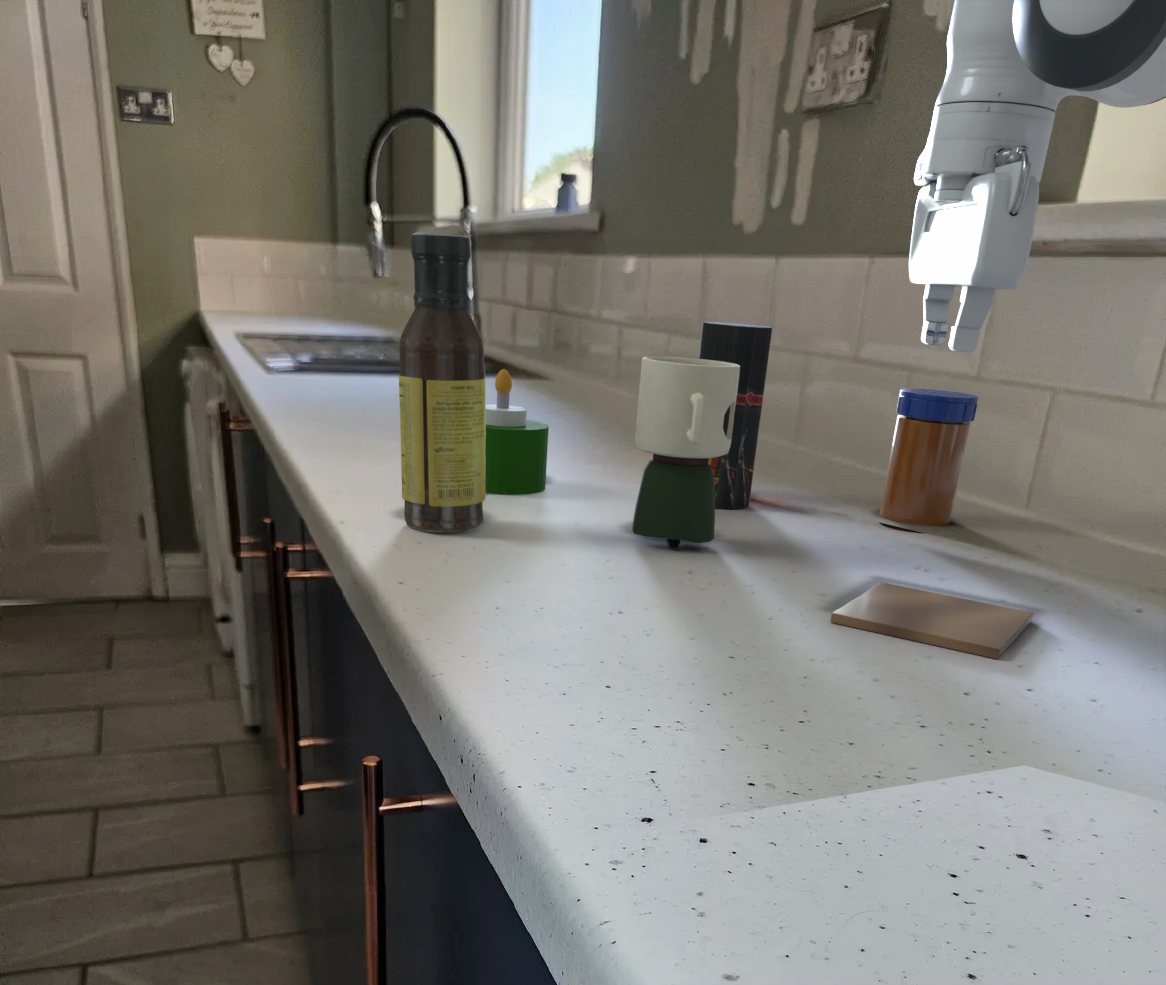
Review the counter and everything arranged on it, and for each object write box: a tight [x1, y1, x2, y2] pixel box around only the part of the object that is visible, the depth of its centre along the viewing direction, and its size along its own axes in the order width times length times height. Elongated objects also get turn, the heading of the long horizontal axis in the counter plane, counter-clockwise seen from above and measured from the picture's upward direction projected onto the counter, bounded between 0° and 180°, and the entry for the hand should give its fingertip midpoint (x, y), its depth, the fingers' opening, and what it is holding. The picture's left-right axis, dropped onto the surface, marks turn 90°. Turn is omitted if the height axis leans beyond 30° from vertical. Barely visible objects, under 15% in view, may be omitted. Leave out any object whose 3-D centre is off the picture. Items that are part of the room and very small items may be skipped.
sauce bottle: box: [398, 231, 487, 533], centre depth 79 cm, size 6×6×20 cm
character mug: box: [631, 355, 740, 547], centre depth 81 cm, size 11×7×13 cm, turn 6°
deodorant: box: [698, 321, 773, 510], centre depth 96 cm, size 6×6×15 cm
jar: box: [878, 414, 972, 535], centre depth 94 cm, size 6×6×11 cm
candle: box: [485, 368, 550, 496], centre depth 97 cm, size 8×8×10 cm
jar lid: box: [895, 387, 980, 423], centre depth 92 cm, size 6×6×2 cm
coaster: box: [830, 581, 1034, 660], centre depth 68 cm, size 10×10×1 cm
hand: (945, 347), depth 90 cm, fingers open, 7 cm apart
